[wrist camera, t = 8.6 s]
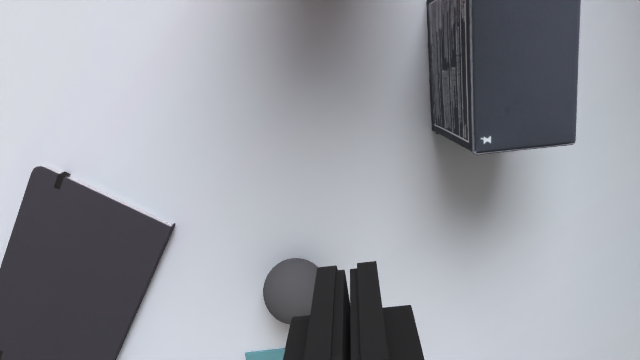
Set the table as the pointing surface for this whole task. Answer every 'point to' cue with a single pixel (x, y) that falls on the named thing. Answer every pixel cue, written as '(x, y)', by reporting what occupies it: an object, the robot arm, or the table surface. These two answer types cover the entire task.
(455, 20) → the small box
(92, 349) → the notebook
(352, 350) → the robot arm
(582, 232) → the table surface
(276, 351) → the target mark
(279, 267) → the dark gray ball
